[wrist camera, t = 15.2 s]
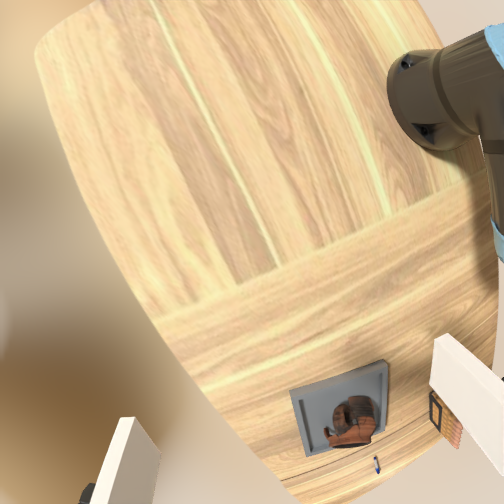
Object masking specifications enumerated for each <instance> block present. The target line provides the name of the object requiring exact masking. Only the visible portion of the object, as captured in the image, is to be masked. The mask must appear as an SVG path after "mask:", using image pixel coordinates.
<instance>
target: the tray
mask: <svg viewBox="0 0 504 504" xmlns="http://www.w3.org/2000/svg"><path fill="white" fill-rule="evenodd" d="M387 388H388V365H387V364H386V362H385V361H384V360H383V359H382V360H379V361H377V362H374V363H371V364H369V365H366V366H363V367H360V368H358V369H355V370H352V371H349V372H346V373H343V374H340V375H337V376H334V377H331V378H328V379H325V380H322V381H319V382H316V383H312V384H309V385H306V386H303V387H299V388H296V389H292V390H289V392H290V396H291V400H292V404H293V408H294V412H295V416H296V419H297V423H298V427H299V431H300V435H301V439H302V442H303V446H304V450H305V454H306V457H309V456H312V455H316V454H319V453H323V452H326V451H330V450H333V449H336V448H332V447H329V441H328V440H327V439H326V437H325V435H324V432H323V431H324V429H323V428H328V429H329V433H330V435H334V434H338V433H337V432H336V431H335V429H334V426H333V420H332V416H333V412H334V409H335V408H336V407H337V406H338V405H340V404H346V405H348V406H349V401H348V398H349V397H355V396H361V397H367V398H370V399H371V401H372V404H373V406H374V411H373V412H374V418H375V419H374V420H375V422H376V429H375V432H374V433H373V435H376V434H378V433H381V432H383V431H385V423H386V408H387ZM352 422H353V425H354V424H357V421H356V419H354V420H352ZM338 435H341V434H338ZM373 435H372V436H373Z"/></svg>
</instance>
